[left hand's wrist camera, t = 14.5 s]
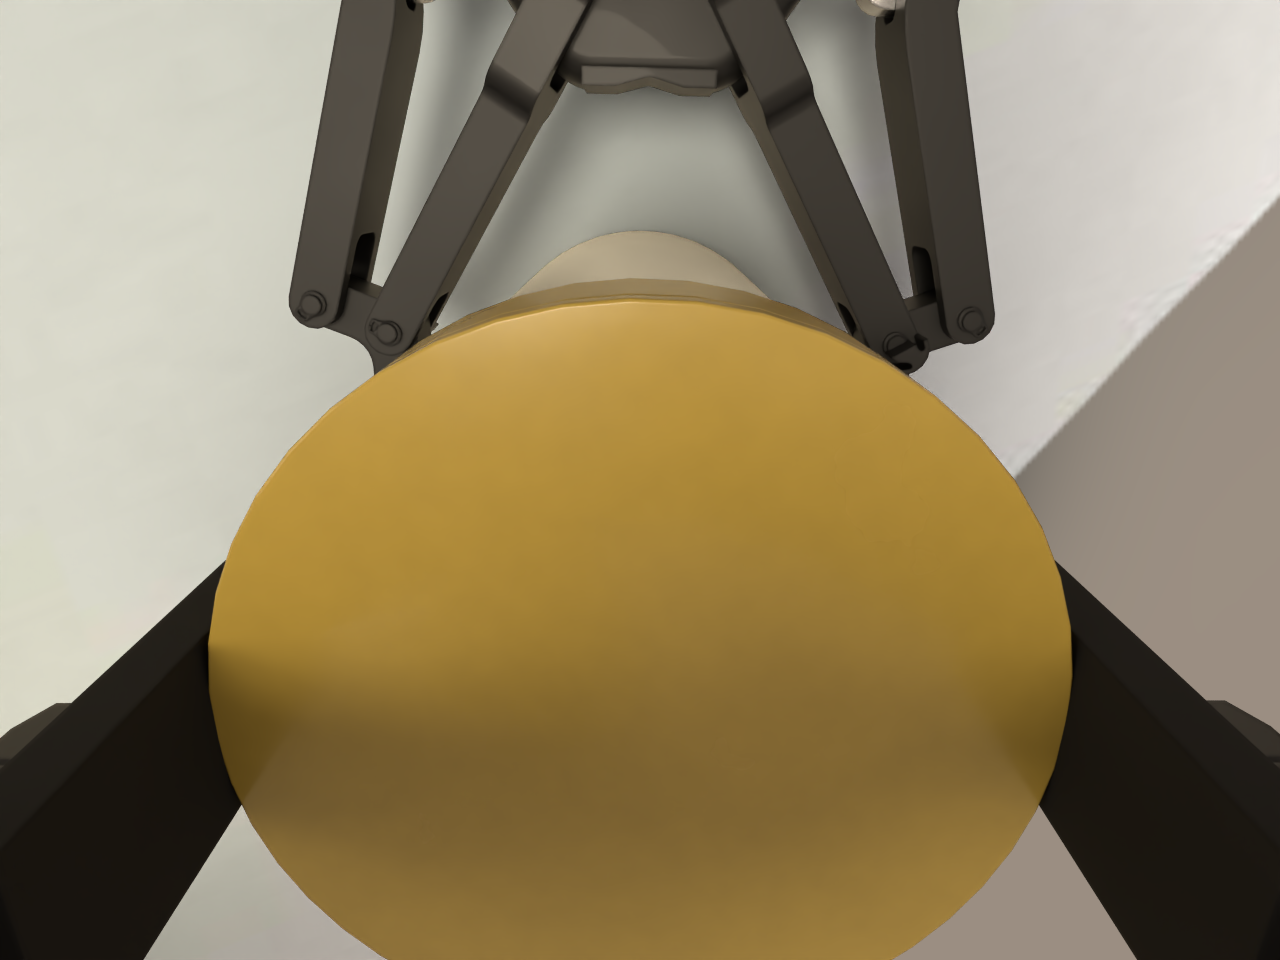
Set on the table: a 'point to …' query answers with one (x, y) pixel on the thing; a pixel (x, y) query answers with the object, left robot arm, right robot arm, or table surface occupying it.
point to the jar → (639, 263)
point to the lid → (640, 641)
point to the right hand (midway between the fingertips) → (636, 573)
